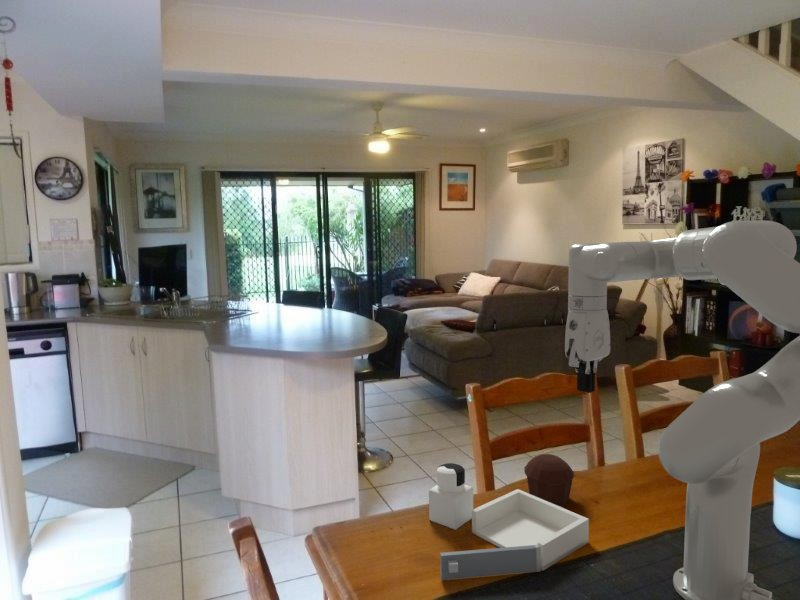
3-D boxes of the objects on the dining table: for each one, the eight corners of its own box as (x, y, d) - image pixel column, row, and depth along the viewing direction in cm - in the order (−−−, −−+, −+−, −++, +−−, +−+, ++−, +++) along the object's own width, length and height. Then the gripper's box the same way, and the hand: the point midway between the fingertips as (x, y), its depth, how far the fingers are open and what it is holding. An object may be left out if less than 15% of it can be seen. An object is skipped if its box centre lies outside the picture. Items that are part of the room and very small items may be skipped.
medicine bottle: (447, 508, 129) (446, 457, 128) (473, 517, 125) (473, 465, 123) (428, 520, 124) (427, 468, 122) (455, 530, 119) (455, 476, 118)
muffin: (583, 507, 128) (583, 465, 127) (537, 513, 126) (537, 470, 125) (558, 485, 140) (558, 446, 139) (516, 489, 138) (516, 450, 137)
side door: (539, 567, 105) (539, 544, 104) (543, 575, 102) (544, 551, 102) (440, 576, 103) (440, 552, 102) (442, 584, 100) (442, 559, 100)
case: (588, 542, 114) (588, 518, 113) (542, 570, 104) (542, 545, 104) (517, 510, 128) (517, 488, 127) (472, 532, 118) (471, 509, 118)
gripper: (582, 308, 108) (580, 402, 110) (623, 301, 118) (621, 387, 120) (549, 305, 114) (548, 394, 116) (591, 299, 124) (590, 381, 126)
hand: (585, 390), depth 118 cm, fingers closed
